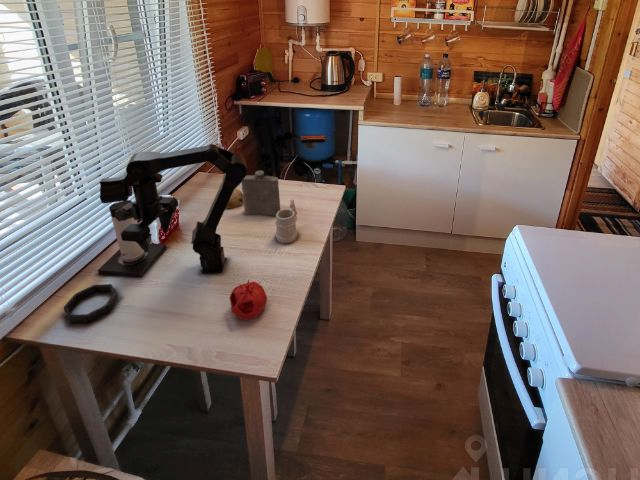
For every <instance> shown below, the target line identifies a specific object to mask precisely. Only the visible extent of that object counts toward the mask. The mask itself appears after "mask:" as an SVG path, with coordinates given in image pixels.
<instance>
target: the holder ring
mask: <svg viewBox="0 0 640 480" xmlns="http://www.w3.org/2000/svg"><path fill="white" fill-rule="evenodd" d="M95 294H111V296H110V298H109V299H108V300H107V301H106V303H105V304H104V305H102V306H100V307H99V308H97V309H95V310H93V311H91V312H89V313H85V314H72V313H71V312H72V311H73V310H74V308H75V307H76V306H77V305H78V303H80V302H81V301H83V300H85V299H87V298H89V297H91V296H94V295H95ZM119 299H120V298H119V296H118V292H117V290H116V289H115V288H114V286H113V284H110V283H107V284H105V283H104V284H103V283H102V284H93V285H91V286H88V287H86V288H85V289H82V290H80V291H78V292H76V293H74V295H73V296H72V297H71V298H70V299H69V300H68V301H67V302H66V303H65V305H64V306H63V310H64V313H65V316H66V319H67V320H68V323H69V324H70V325H85V324H86V325H87V324H91V323H93V322H95V321H97V320H99V319H100V318H102V317H105V316H106V315H108V314H109V313H110V312H111V311H112V310H113V308H114V307H115V305H116V304H117V303H118V302H119Z"/></svg>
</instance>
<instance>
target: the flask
mask: <svg viewBox="0 0 640 480" xmlns="http://www.w3.org/2000/svg"><path fill="white" fill-rule="evenodd" d="M279 185H280V184H279V178H278V177H276V176H272V175H265V172H264V170H257V171H255V172H254V175H251V174H250V175H246V176H245V178H244V179H243V181H242V182H241V190H242V191H241V192H242V194H243V208H244V214H245V215H246V216H247V215H248V216H249V215H251V216H252V215H262V216H263V215H264V216H272V217H276V214H277V212H278V211H280V210H281V198H280V186H279Z"/></svg>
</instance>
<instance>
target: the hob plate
mask: <svg viewBox="0 0 640 480" xmlns="http://www.w3.org/2000/svg"><path fill="white" fill-rule="evenodd" d="M166 249H167V244H166V243H152V242H151V244H150V251H149V252H148V253H147V252H144V255H143V256H142V257H141V258H140V259H138V260H136V261H133V262H125V261H123V259H122V255H121V252H120V248H118V250H117V251H116V252H115V253H114V254H113V255H112V256H110V258H108V259H107V261H106V262H104V263H103V264H102V265H101V266H100V267H99V268H98V269H97V273H98V275H108V276H121V277H134V278H142V277H143V275H145V273H146V272H148V270H149V269H150V268H151V266H152V265H153V264H154V263H155V262H156V261H157V259H159V257H160V256H161V255H162V254H163V253H164V252H165V250H166Z"/></svg>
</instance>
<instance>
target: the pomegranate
mask: <svg viewBox="0 0 640 480" xmlns="http://www.w3.org/2000/svg"><path fill="white" fill-rule="evenodd" d="M261 283H262V281H260V282H256V281H250V279H248V280H247V282H246V283H245V282H244V283H242V284H237V285H236V286H234V288H233V289H232V291H231V292H230V295H229V301H230V310H231V313H232V314H233V315H234V316H235V317H236V318H238V319H241V320H251V319H255V318H256V317H258V316H260V314H261V312H262V310H263V309H264V308H266V306H267V304H268V303H267V302H268V295H267V294H266V291H265V288H264V287H263V286H262V285H261Z"/></svg>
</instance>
